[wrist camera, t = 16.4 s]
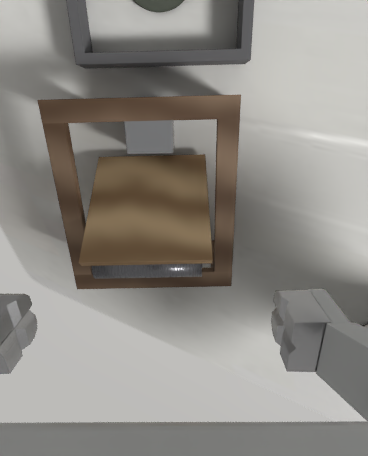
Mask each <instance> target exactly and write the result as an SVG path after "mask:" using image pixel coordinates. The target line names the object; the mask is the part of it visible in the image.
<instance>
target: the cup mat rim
mask: <svg viewBox="0 0 368 456" xmlns="http://www.w3.org/2000/svg"><path fill="white" fill-rule="evenodd" d="M66 1H67V8H68V14H69V21H70V27H71V34H72V41H73V47H74V54H75V60H76V65H79V66H81V67H84V68H113V67H150V66H187V65H223V64H245V63H247V62H248V61H250V60H251V44H252V27H253V11H254V0H239V2H238V26H237V49H212V50H176V51H140V52H104V53H92V46H91V39H90V31H89V24H88V16H87V8H86V1H85V0H66Z"/></svg>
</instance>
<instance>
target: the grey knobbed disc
mask: <svg viewBox="0 0 368 456" xmlns="http://www.w3.org/2000/svg"><path fill="white" fill-rule="evenodd" d="M134 1H135V2H136V3H137V4H139V5H140V6H141V7H143V8H145V9H147V10H149V11H153V12H166V11H170V10H172V9H174V8H176V7H177V6H179V5H180V4H181V3H182V2H183V1H184V0H134Z"/></svg>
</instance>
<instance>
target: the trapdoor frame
mask: <svg viewBox="0 0 368 456" xmlns="http://www.w3.org/2000/svg"><path fill="white" fill-rule="evenodd" d="M240 103H241V95H212V96H173V97H135V98H97V99H59V100H38V104H39V109H40V114H41V119H42V123H43V128H44V133H45V138H46V143H47V147H48V152H49V157H50V162H51V166H52V171H53V176H54V181H55V185H56V190H57V195H58V200H59V204H60V209H61V214H62V219H63V224H64V228H65V233H66V238H67V243H68V247H69V252H70V257H71V262H72V266H73V271H74V276H75V281H76V286H77V289H106V288H157V287H207V286H231V279H232V259H233V240H234V220H235V200H236V181H237V161H238V142H239V122H240ZM203 119H217V141H216V188H215V235H214V240H211V244H212V258H213V261H212V263H210V264H211V268H202V277H159V278H110V279H95V278H94V277H93V274H92V266H81V265H80V264H79V258H80V253H81V248H82V242H83V237H84V232H85V227H86V223H85V217H84V211H83V205H82V200H81V194H80V188H79V183H78V177H77V171H76V166H75V160H74V154H73V149H72V143H71V137H70V132H69V126H68V123H85V122H124V121H163V120H203Z"/></svg>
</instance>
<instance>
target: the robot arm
mask: <svg viewBox="0 0 368 456" xmlns="http://www.w3.org/2000/svg"><path fill="white" fill-rule="evenodd" d="M273 302H274V304H275V306H276V308H275V310H274V311H273V312H272V318H271V324H272V332H273V336H274V339H275V341H276V343H278V344H279V345H280V346H281V348H280V355H281V357H282V360H283V363H284V365H285V368H286V370H287V371H295V372H316V374H317V375H318V376H319V377H320V378H322V379H323V380H324V381H325V382H326V383H327V384H328V385H329V386H330V387H331V388H332V389H333V390H334V391H336V392H337V393H338V394H339V395H340V396H341V397H342V398H343V399H344V400H345V401H346V402H347V403H348V404H349V405H351V406H352V407H353V408H354V409H355V410H356V411H357V412H358V413H359V414H360V415H361V416H362V417H363V418H365V419H366V420H367V421H368V325H365V326H361V325H360V324H358V323H351V322H350V321H349V319H348V318H347V317H346V316H345V314H344V313H343V312H342V310H341V309H340V308H339V307H338V305H337V304H336V303H335V301H334V300H333V299H332V298H331V296H330V295H329V294H328V292H327V291H326V290H324V289H307V290H276V291H275V293H274V299H273ZM31 306H32V302H31V299H30V297H29V296H28V295H26V294H0V374H9V373H11V372H12V370H13V369H14V367H15V366H16V364H17V363H18V361H19V360H20V359H21V357H22V349H24V348H25V347H27V346H28V345H30V344H31V342H32V341H33V339H34V337H35V334H36V331H37V319H36V316H35V314H33V313H32V312H31V311H30V310H29V309H30V307H31ZM0 456H368V422H115V423H114V422H108V423H107V422H106V423H105V422H101V423H100V422H99V423H98V422H94V423H0Z"/></svg>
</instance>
